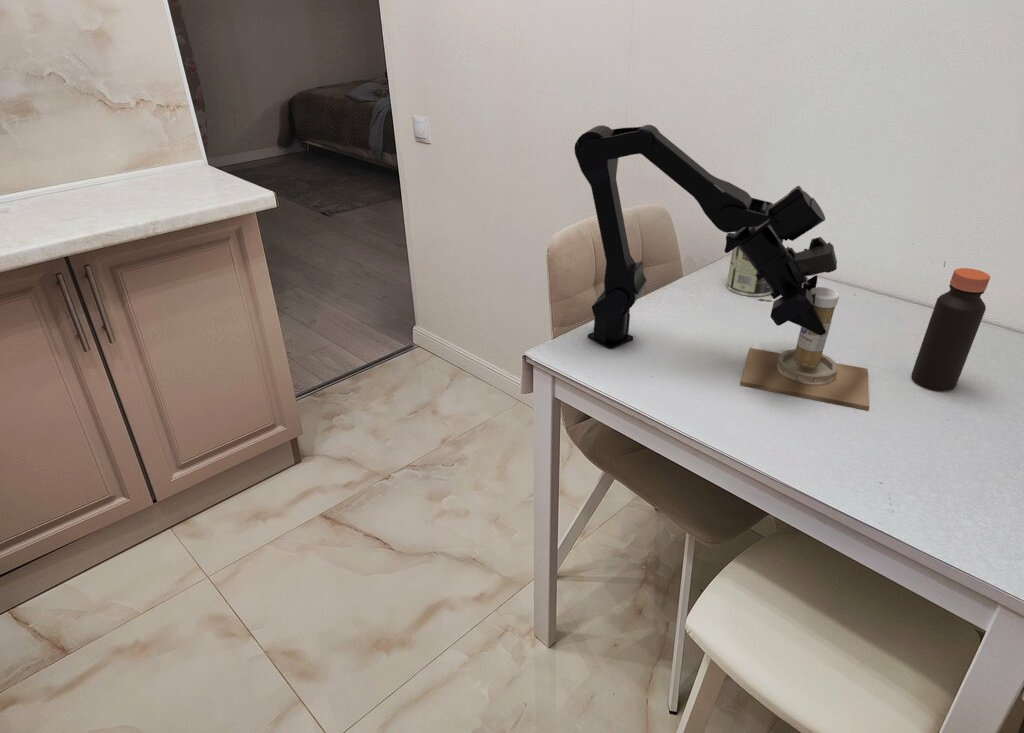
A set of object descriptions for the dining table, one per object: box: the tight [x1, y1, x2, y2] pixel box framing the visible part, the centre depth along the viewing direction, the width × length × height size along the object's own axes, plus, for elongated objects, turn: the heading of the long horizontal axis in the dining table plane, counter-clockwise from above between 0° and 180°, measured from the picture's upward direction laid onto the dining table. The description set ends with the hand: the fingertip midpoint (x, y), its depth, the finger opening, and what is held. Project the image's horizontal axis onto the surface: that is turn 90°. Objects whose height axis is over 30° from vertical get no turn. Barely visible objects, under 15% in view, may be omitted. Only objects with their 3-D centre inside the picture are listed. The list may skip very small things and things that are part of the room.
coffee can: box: [726, 225, 784, 298], centre depth 146 cm, size 10×10×14 cm
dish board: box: [739, 347, 870, 411], centre depth 115 cm, size 20×13×2 cm, turn 66°
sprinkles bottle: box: [793, 286, 840, 368], centre depth 112 cm, size 5×5×13 cm
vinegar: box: [911, 267, 991, 392], centre depth 110 cm, size 7×7×20 cm
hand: (824, 328), depth 112 cm, fingers closed on sprinkles bottle, 4 cm apart
